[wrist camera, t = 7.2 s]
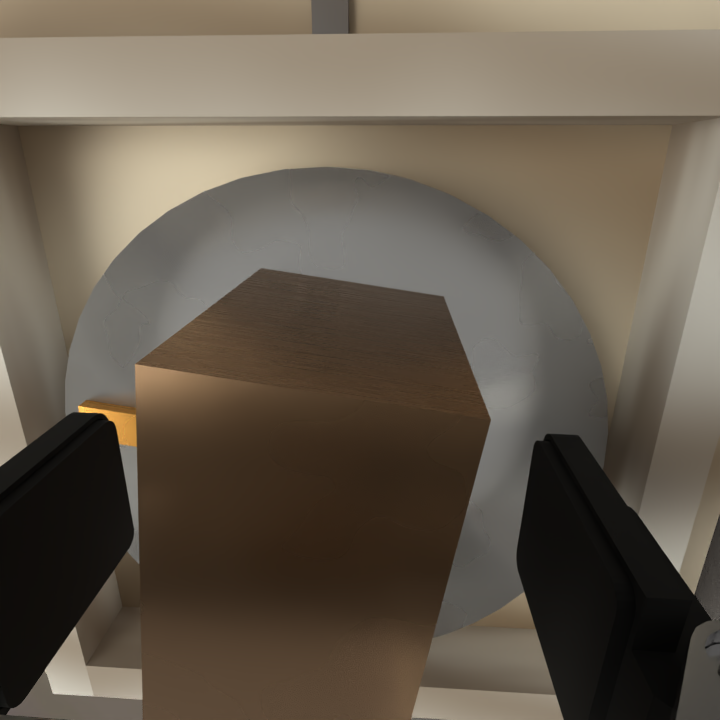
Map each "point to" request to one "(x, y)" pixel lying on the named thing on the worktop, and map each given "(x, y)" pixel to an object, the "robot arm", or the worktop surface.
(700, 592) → the worktop surface
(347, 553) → the dial
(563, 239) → the dial board
